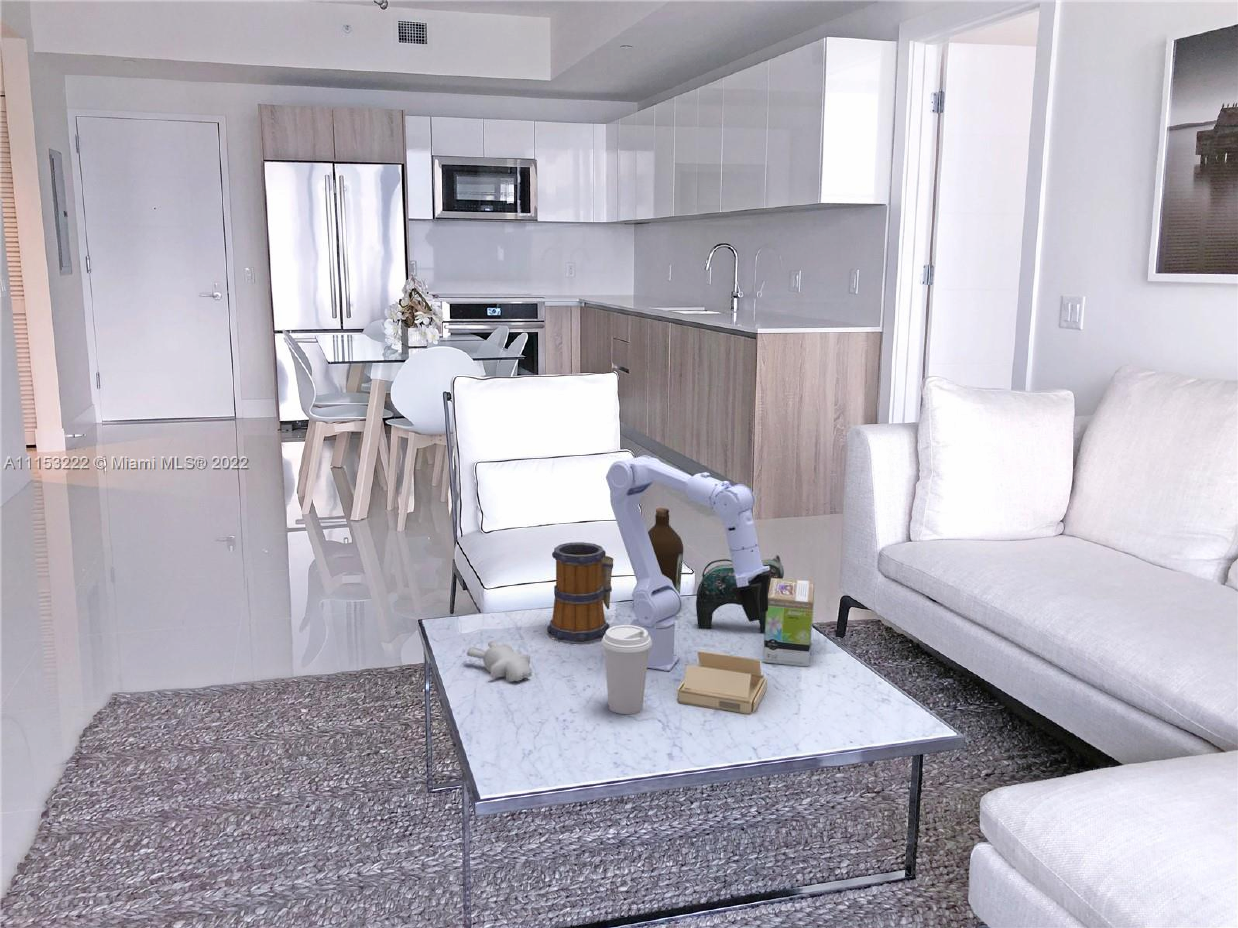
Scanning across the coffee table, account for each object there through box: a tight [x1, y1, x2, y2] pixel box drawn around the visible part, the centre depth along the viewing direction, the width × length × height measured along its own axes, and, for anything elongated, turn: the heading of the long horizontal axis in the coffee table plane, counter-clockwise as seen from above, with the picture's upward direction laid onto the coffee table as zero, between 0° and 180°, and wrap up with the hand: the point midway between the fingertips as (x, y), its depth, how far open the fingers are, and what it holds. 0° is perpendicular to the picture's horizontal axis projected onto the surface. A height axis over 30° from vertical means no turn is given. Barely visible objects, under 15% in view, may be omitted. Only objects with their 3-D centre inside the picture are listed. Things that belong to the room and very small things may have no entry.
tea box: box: [762, 578, 815, 667], centre depth 217 cm, size 15×10×15 cm
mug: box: [546, 541, 614, 645], centre depth 228 cm, size 19×14×20 cm
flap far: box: [697, 650, 762, 675], centre depth 199 cm, size 13×1×4 cm
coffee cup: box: [600, 624, 652, 715], centre depth 188 cm, size 10×10×15 cm
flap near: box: [683, 664, 751, 698], centre depth 190 cm, size 13×1×4 cm, turn 70°
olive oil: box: [647, 507, 684, 595], centre depth 243 cm, size 11×11×25 cm
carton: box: [676, 664, 768, 715], centre depth 195 cm, size 15×13×3 cm
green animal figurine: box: [695, 554, 785, 634], centre depth 229 cm, size 20×6×20 cm, turn 82°
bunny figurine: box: [466, 640, 533, 683], centre depth 205 cm, size 10×5×15 cm
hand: (758, 616), depth 193 cm, fingers open, 7 cm apart
